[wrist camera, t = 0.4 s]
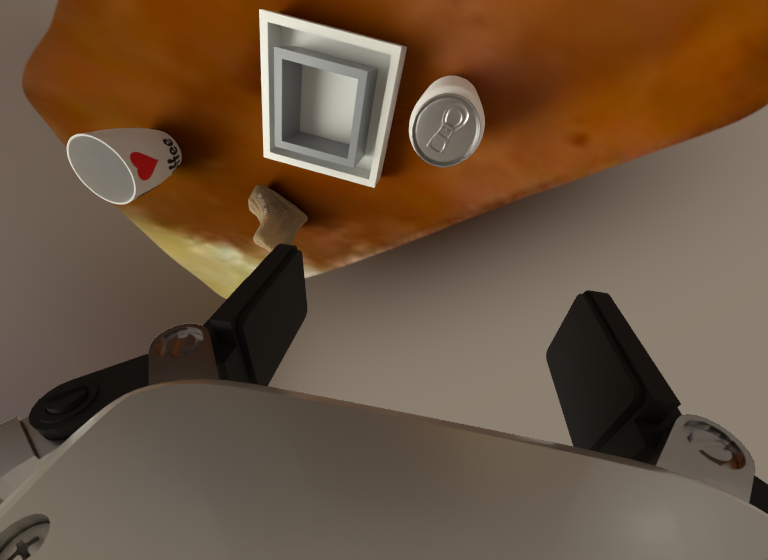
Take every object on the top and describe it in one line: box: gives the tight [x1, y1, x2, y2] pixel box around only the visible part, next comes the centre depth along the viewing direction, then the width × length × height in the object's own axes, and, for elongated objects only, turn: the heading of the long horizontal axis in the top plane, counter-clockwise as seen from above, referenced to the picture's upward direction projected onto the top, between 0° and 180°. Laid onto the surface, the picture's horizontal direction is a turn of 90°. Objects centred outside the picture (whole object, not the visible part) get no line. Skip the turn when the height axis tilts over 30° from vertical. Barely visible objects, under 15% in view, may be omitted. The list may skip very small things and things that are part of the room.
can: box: [409, 76, 485, 167], centre depth 31 cm, size 6×6×12 cm
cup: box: [67, 128, 182, 204], centre depth 41 cm, size 8×8×10 cm
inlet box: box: [259, 9, 407, 188], centre depth 35 cm, size 14×14×6 cm
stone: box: [248, 185, 308, 252], centre depth 43 cm, size 9×5×10 cm, turn 48°
